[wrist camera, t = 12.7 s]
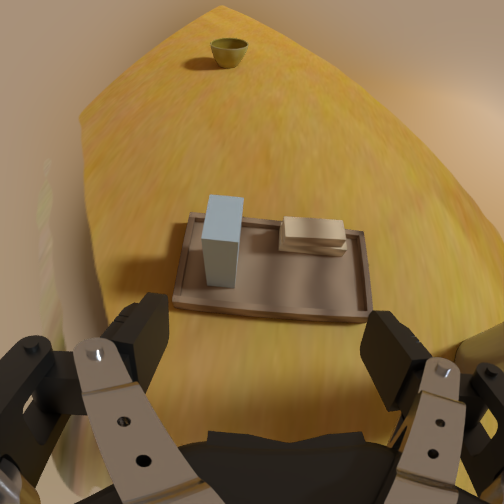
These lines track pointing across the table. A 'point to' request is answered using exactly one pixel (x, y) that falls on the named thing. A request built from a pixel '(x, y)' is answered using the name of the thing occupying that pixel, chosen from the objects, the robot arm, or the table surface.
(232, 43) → the green bowl
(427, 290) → the table surface
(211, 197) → the blue-grey rectangular block
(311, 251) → the offcut stack
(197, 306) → the brown serving tray
